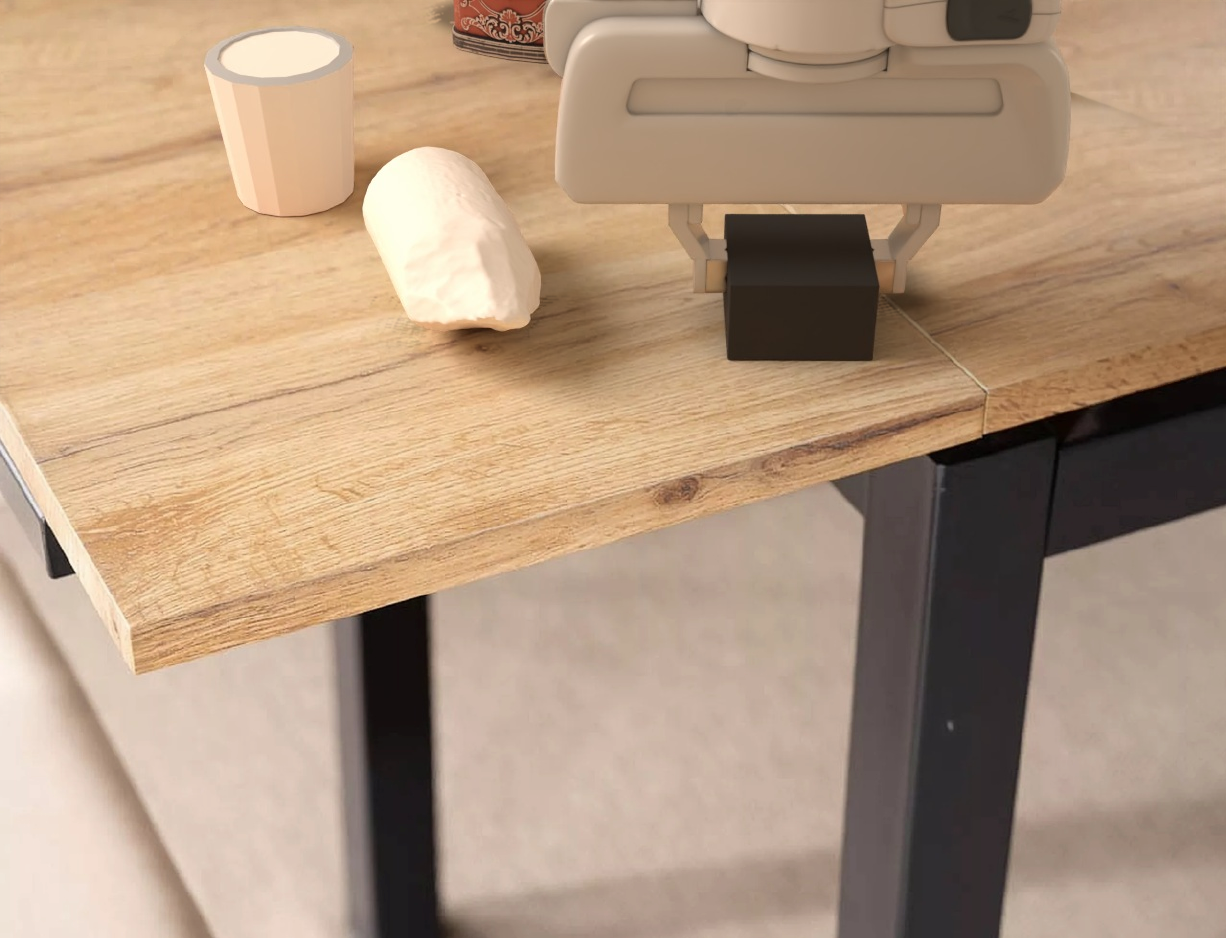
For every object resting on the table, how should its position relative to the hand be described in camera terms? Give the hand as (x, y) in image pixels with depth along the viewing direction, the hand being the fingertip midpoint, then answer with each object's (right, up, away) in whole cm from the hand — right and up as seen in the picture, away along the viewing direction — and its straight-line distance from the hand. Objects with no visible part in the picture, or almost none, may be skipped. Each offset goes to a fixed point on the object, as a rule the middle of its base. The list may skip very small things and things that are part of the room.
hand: (798, 286), depth 73 cm
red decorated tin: (-13, +16, +25) cm, 32 cm away
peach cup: (-23, +6, +11) cm, 26 cm away
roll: (-14, -1, +1) cm, 14 cm away
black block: (0, -1, +1) cm, 2 cm away
